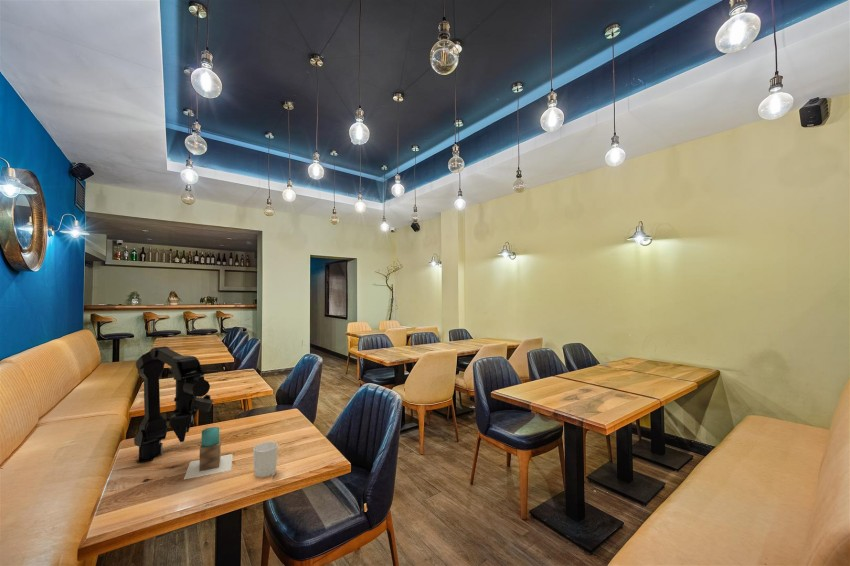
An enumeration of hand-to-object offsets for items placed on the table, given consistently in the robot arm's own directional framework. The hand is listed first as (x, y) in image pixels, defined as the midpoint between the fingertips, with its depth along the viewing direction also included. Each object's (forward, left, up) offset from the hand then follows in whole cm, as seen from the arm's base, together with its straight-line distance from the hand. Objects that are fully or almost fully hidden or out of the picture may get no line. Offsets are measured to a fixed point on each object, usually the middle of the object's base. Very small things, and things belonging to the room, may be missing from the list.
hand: (184, 436), depth 124 cm
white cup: (+26, -14, -13) cm, 32 cm away
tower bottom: (+8, 0, -12) cm, 14 cm away
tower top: (+8, 0, -8) cm, 11 cm away
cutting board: (+8, 0, -13) cm, 15 cm away
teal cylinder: (+8, 0, -4) cm, 9 cm away
